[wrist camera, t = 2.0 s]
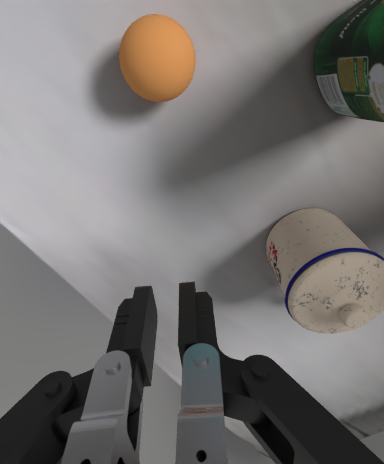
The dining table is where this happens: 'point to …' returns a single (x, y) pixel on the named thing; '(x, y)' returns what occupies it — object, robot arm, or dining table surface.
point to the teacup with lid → (325, 272)
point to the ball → (157, 58)
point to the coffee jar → (354, 62)
